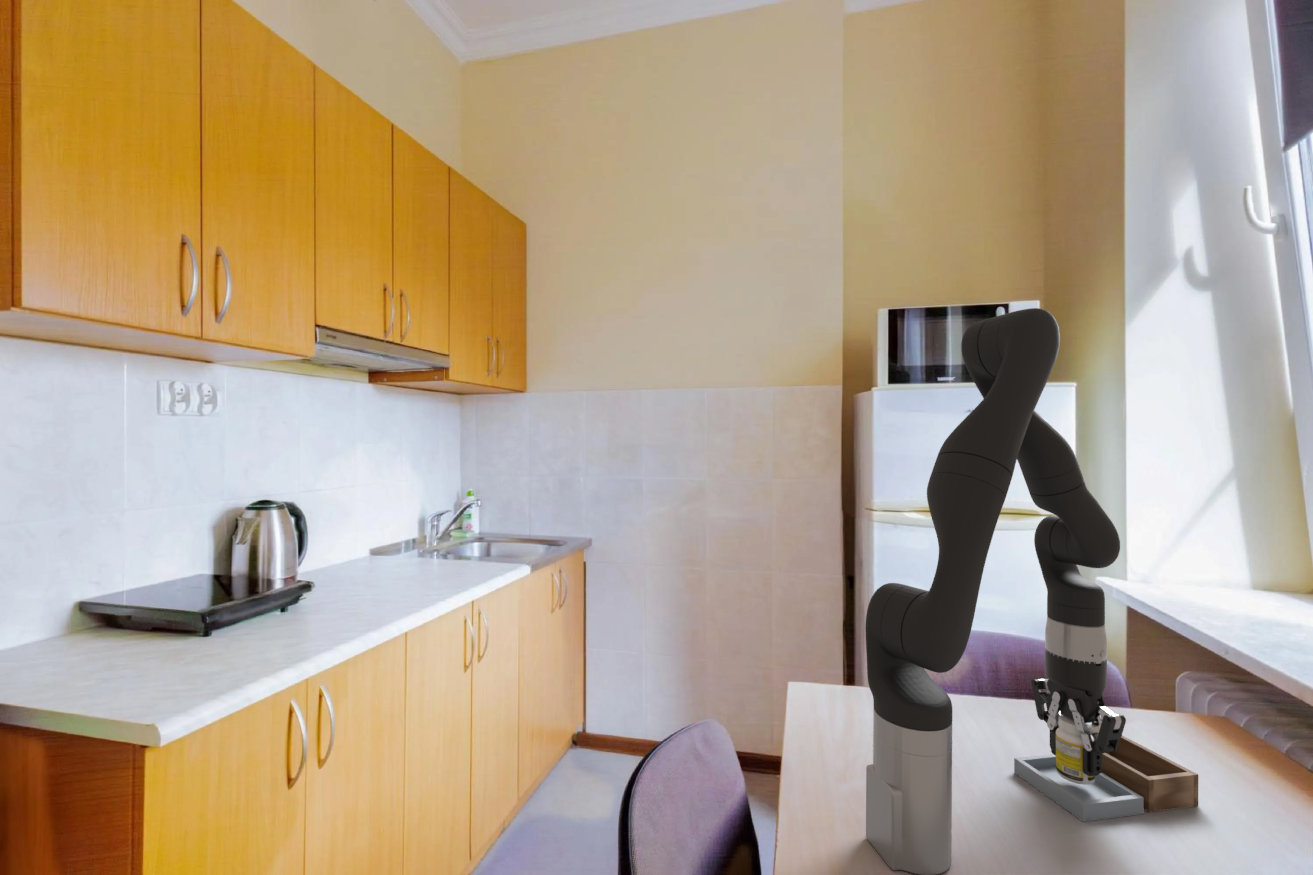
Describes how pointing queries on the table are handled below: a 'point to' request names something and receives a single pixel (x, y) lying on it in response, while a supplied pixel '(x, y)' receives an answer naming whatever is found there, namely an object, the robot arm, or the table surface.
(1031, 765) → the tray
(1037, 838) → the table surface
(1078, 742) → the supplement bottle
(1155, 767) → the caddy
